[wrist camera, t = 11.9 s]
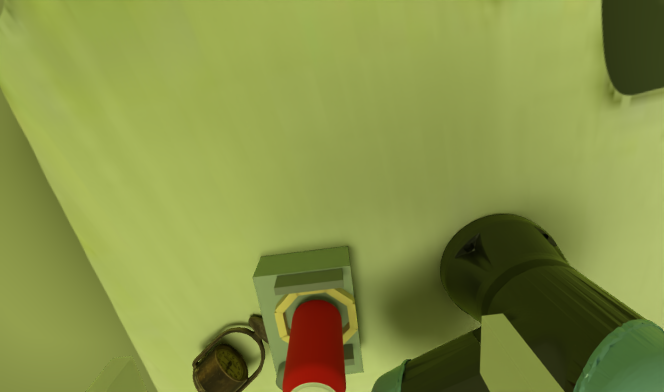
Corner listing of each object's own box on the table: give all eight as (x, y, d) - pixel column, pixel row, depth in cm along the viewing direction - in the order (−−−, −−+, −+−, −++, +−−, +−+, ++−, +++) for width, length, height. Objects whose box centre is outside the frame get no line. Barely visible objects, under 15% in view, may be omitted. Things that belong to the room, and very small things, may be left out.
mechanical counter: (166, 360, 41) (195, 424, 42) (248, 336, 39) (278, 406, 40) (197, 329, 48) (222, 385, 49) (269, 307, 46) (294, 367, 47)
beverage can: (319, 285, 38) (316, 367, 27) (351, 316, 40) (360, 406, 28) (283, 312, 39) (265, 401, 28) (315, 341, 41) (310, 437, 30)
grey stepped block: (347, 246, 42) (351, 277, 35) (360, 344, 48) (365, 388, 40) (261, 256, 43) (247, 289, 35) (283, 353, 48) (275, 398, 41)
